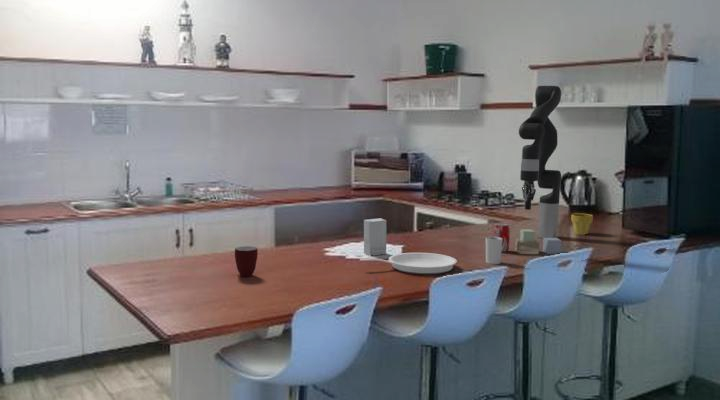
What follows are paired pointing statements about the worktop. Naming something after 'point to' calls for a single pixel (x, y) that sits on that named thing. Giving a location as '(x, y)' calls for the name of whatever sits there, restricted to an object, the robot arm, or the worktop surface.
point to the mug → (246, 260)
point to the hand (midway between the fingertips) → (527, 209)
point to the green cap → (527, 235)
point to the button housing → (527, 247)
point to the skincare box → (375, 236)
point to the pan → (420, 263)
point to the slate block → (551, 245)
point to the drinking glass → (493, 250)
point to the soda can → (502, 235)
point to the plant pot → (581, 223)
